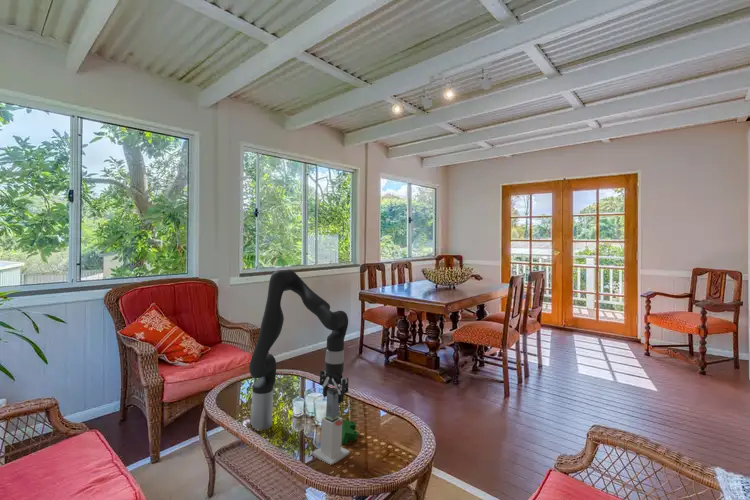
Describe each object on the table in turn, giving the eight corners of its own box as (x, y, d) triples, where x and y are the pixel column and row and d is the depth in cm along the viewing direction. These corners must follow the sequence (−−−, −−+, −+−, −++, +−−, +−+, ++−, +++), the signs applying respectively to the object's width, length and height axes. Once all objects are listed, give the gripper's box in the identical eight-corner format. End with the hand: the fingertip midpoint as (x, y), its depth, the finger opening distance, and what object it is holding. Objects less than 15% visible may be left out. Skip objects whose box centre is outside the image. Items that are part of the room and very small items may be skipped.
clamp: (352, 452, 161) (358, 438, 157) (338, 450, 159) (345, 436, 156) (351, 428, 172) (357, 415, 168) (339, 426, 170) (345, 412, 167)
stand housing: (311, 454, 150) (313, 418, 150) (330, 443, 159) (332, 409, 158) (330, 466, 144) (332, 428, 143) (349, 453, 152) (351, 418, 152)
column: (324, 437, 151) (326, 389, 150) (331, 433, 154) (333, 387, 153) (331, 440, 148) (333, 392, 148) (337, 437, 151) (340, 389, 151)
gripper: (315, 358, 151) (314, 396, 152) (341, 366, 142) (339, 408, 143) (328, 354, 157) (327, 391, 158) (353, 362, 148) (352, 401, 149)
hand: (333, 399), depth 150 cm, fingers open, 8 cm apart
